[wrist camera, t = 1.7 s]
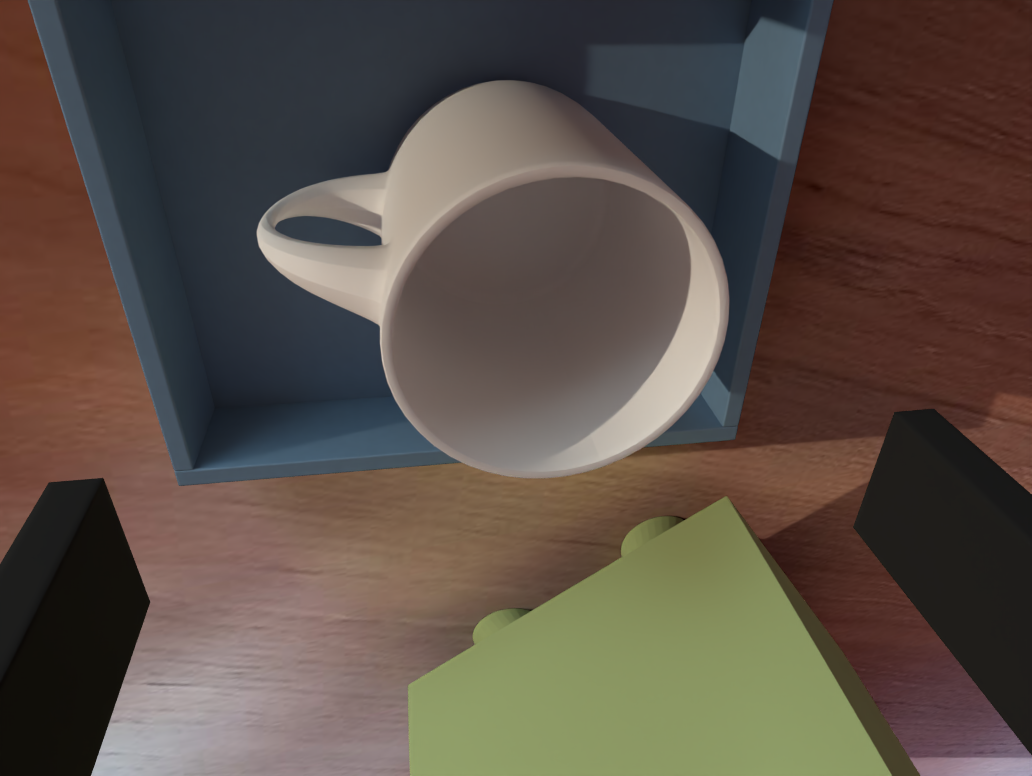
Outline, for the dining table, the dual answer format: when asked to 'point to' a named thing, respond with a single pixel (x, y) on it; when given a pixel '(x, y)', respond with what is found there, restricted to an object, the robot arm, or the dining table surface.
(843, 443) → the dining table surface
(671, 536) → the container
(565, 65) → the tray
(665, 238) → the mug
